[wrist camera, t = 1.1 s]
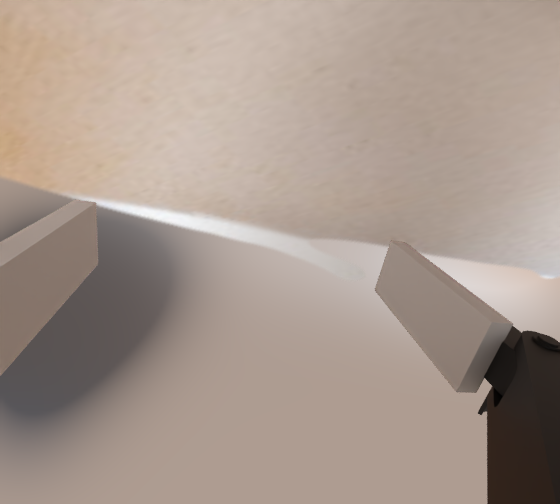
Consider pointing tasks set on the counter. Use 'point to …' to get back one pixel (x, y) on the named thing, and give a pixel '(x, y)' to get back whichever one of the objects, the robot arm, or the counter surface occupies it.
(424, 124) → the counter surface
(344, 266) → the counter surface
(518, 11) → the counter surface
